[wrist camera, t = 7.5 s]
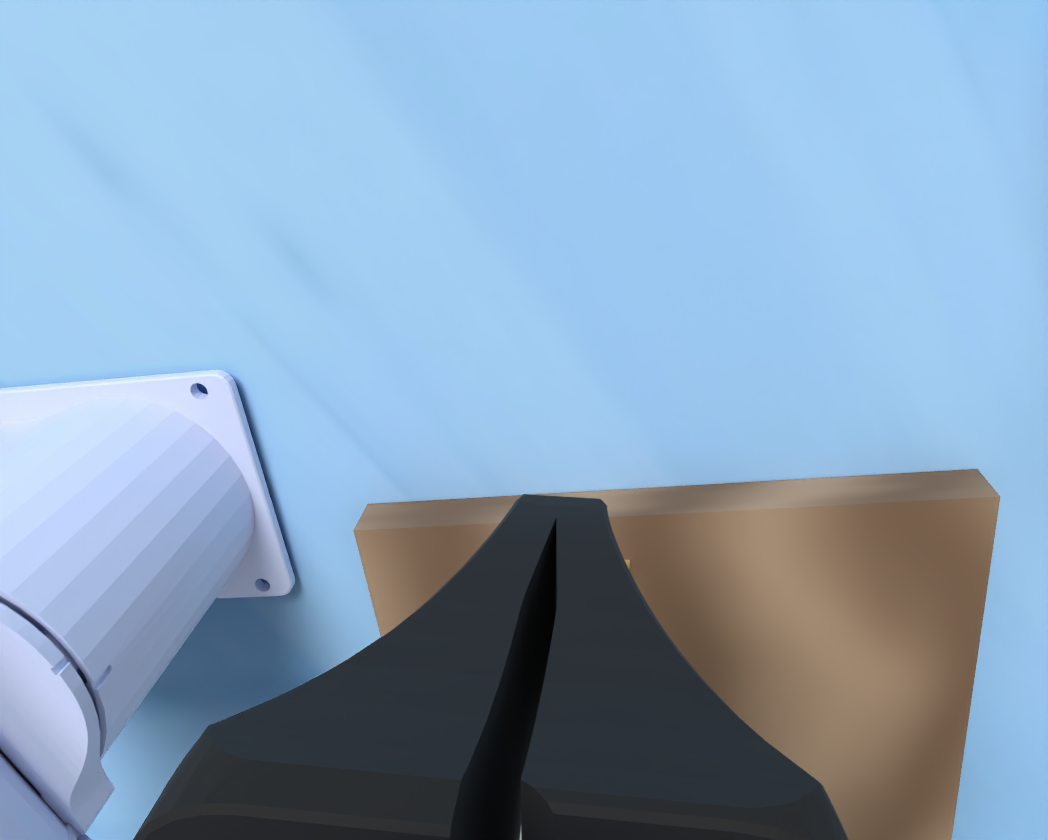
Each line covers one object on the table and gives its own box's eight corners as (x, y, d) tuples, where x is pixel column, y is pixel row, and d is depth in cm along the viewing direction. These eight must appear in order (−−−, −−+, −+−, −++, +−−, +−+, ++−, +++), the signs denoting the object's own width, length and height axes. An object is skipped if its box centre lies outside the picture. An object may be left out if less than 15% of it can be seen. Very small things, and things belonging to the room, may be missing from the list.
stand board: (467, 910, 34) (460, 951, 32) (367, 504, 25) (351, 534, 24) (920, 919, 31) (935, 965, 29) (977, 468, 23) (1003, 500, 21)
